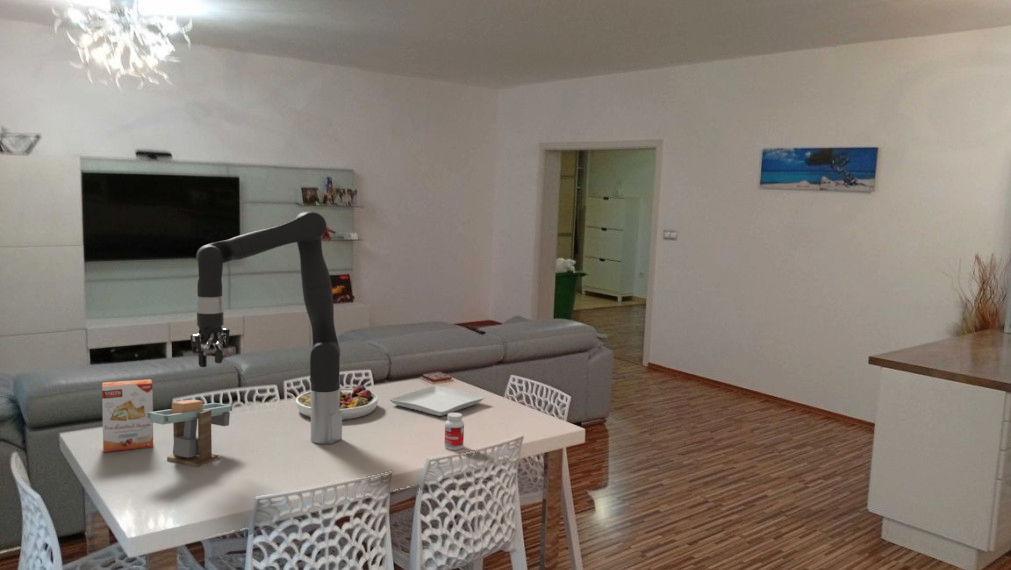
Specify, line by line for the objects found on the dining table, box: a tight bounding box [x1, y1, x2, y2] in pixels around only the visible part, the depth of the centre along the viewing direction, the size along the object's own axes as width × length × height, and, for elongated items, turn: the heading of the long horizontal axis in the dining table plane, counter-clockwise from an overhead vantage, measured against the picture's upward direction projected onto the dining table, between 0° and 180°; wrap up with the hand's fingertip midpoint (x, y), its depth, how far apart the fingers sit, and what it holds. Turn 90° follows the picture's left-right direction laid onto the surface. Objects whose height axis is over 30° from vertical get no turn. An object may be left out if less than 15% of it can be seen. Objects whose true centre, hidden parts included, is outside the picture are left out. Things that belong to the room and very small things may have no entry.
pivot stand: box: [166, 410, 219, 468], centre depth 221 cm, size 12×8×16 cm, turn 68°
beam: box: [148, 402, 233, 458], centre depth 220 cm, size 7×26×14 cm, turn 158°
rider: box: [170, 398, 204, 414], centre depth 218 cm, size 4×8×4 cm, turn 158°
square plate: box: [389, 385, 486, 417], centre depth 288 cm, size 27×27×4 cm
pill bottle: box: [444, 412, 465, 451], centre depth 240 cm, size 6×6×11 cm
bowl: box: [295, 384, 379, 421], centre depth 277 cm, size 30×30×8 cm
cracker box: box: [101, 378, 154, 453], centre depth 229 cm, size 14×6×21 cm, turn 117°
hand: (210, 364), depth 226 cm, fingers open, 5 cm apart
